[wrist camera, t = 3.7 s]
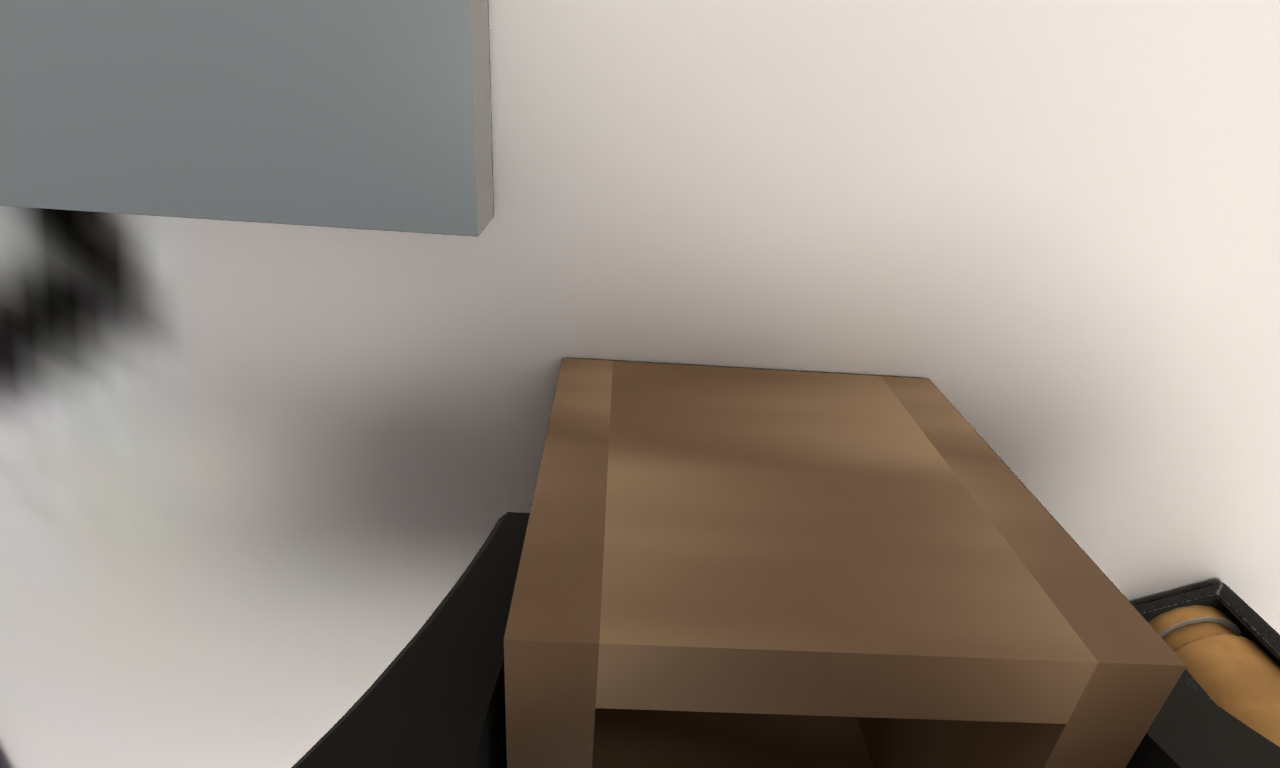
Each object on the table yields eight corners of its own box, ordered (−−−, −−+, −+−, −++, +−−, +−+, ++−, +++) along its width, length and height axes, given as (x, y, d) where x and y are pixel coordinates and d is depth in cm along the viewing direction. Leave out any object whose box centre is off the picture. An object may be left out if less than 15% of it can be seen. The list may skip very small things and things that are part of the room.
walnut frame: (556, 631, 12) (513, 991, 7) (562, 357, 9) (502, 640, 5) (852, 642, 12) (986, 998, 8) (928, 378, 10) (1185, 665, 5)
